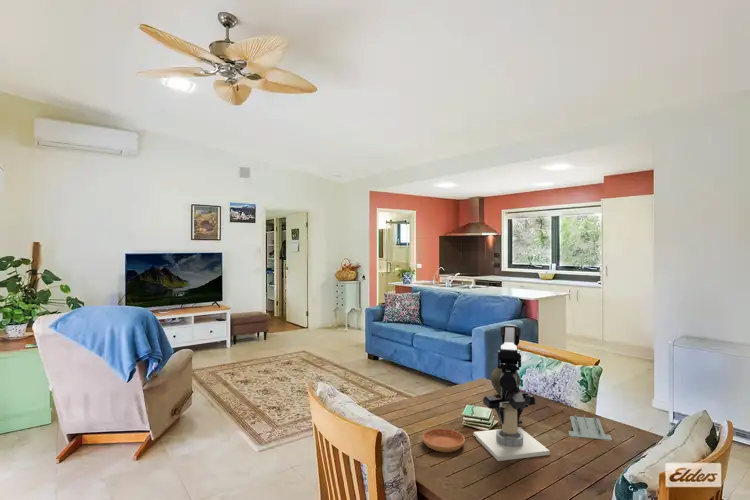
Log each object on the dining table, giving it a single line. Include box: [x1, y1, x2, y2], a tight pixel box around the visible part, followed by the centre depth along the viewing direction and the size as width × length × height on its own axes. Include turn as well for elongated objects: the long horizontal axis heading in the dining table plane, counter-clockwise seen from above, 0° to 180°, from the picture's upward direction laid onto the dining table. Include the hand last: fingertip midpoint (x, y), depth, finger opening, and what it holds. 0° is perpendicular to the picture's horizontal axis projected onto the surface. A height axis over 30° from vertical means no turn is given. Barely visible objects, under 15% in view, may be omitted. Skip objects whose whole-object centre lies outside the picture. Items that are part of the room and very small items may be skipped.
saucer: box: [421, 428, 466, 453], centre depth 159 cm, size 16×16×3 cm
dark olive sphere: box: [490, 366, 521, 395], centre depth 209 cm, size 14×14×15 cm
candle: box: [501, 403, 518, 434], centre depth 158 cm, size 6×6×10 cm
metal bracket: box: [568, 414, 613, 442], centre depth 168 cm, size 14×6×15 cm
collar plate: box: [473, 426, 551, 462], centre depth 158 cm, size 20×20×4 cm
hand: (509, 422), depth 158 cm, fingers closed on candle, 5 cm apart
